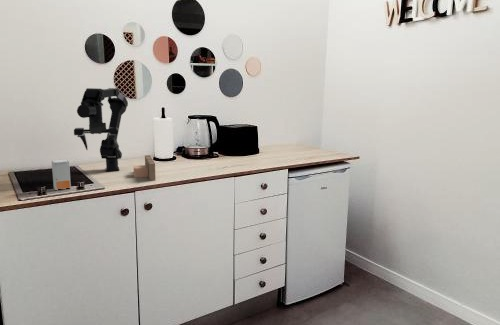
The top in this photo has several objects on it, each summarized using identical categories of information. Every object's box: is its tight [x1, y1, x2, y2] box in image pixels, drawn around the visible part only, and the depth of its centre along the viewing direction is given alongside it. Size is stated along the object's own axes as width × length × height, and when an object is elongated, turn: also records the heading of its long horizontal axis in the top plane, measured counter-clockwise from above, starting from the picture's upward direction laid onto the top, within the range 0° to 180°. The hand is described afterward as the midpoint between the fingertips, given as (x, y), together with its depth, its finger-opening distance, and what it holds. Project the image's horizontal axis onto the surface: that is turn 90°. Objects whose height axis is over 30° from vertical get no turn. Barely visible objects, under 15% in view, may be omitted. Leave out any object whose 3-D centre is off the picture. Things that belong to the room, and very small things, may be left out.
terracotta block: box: [133, 164, 148, 178], centre depth 176 cm, size 6×6×4 cm
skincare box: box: [51, 159, 72, 191], centre depth 151 cm, size 6×4×12 cm
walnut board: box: [144, 154, 156, 181], centre depth 177 cm, size 21×2×8 cm, turn 21°
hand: (97, 149), depth 171 cm, fingers open, 9 cm apart
